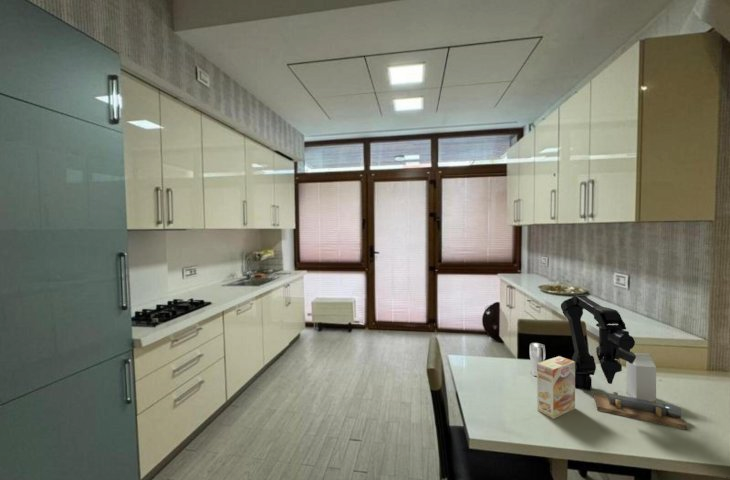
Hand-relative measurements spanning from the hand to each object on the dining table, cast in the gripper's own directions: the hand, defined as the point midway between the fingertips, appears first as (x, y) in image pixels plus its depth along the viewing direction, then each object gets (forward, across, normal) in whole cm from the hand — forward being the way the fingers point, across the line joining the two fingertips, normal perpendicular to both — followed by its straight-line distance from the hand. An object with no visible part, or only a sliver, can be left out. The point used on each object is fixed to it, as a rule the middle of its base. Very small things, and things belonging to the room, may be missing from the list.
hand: (608, 378), depth 127 cm
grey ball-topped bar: (+11, +2, -11) cm, 15 cm away
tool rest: (+12, +2, -9) cm, 15 cm away
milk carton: (+12, +16, -13) cm, 24 cm away
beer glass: (+12, +20, +26) cm, 35 cm away
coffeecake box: (+12, -11, +18) cm, 24 cm away
